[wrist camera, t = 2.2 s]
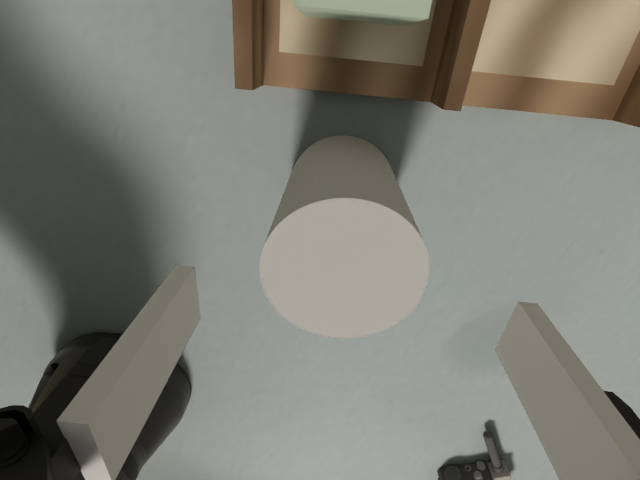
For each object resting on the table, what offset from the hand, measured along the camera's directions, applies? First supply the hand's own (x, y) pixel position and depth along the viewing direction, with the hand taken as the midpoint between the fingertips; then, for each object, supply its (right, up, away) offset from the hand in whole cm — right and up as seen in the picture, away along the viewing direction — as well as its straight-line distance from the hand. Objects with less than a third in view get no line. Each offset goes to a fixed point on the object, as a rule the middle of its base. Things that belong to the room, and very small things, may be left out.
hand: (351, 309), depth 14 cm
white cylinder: (0, +7, +13) cm, 15 cm away
